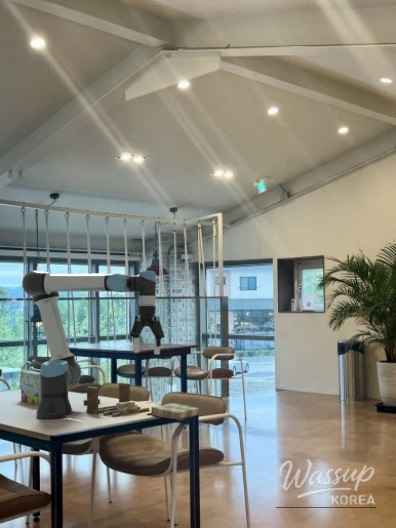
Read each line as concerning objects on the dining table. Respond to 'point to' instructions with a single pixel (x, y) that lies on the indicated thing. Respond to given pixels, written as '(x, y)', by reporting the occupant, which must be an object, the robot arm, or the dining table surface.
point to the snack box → (31, 386)
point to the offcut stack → (126, 406)
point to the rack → (110, 410)
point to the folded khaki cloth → (174, 411)
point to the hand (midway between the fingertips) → (146, 353)
